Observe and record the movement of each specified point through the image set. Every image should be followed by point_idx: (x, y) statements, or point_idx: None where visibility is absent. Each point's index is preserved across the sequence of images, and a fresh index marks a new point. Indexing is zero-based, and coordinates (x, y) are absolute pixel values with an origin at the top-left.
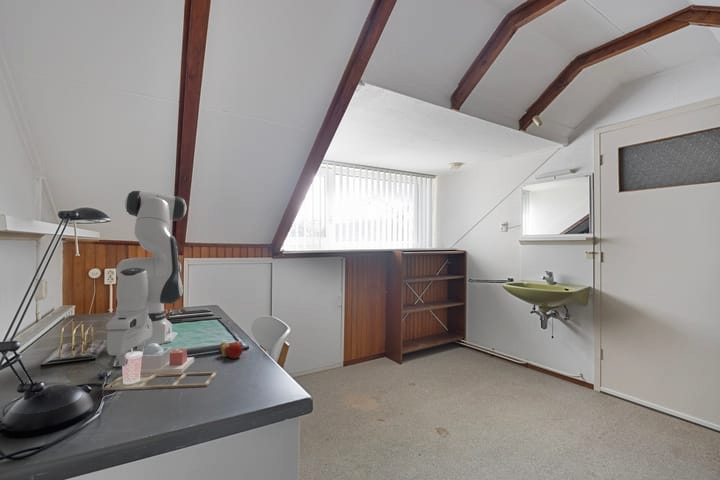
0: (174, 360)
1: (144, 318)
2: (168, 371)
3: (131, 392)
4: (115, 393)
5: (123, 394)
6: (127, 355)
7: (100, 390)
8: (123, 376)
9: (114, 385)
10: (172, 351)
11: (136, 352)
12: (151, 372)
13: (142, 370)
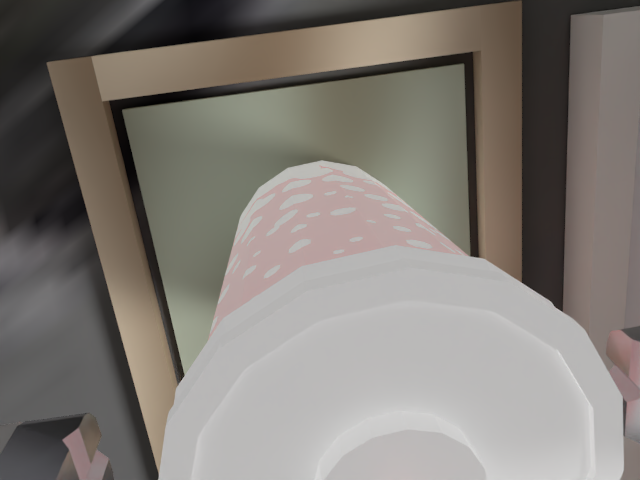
0: None
1: None
2: None
3: (66, 411)
4: (11, 275)
5: (6, 370)
6: (318, 439)
7: (52, 29)
8: (242, 232)
9: (196, 119)
10: None
11: (555, 472)
12: (570, 310)
13: (590, 220)
